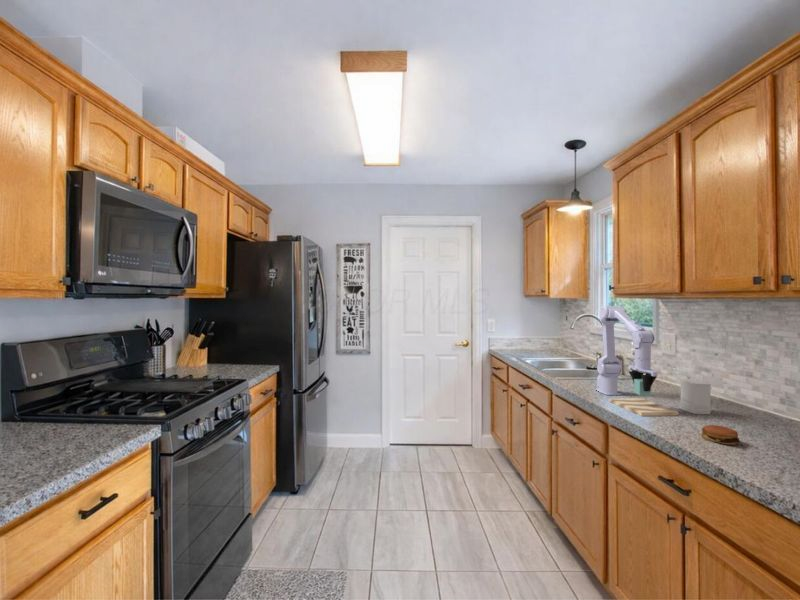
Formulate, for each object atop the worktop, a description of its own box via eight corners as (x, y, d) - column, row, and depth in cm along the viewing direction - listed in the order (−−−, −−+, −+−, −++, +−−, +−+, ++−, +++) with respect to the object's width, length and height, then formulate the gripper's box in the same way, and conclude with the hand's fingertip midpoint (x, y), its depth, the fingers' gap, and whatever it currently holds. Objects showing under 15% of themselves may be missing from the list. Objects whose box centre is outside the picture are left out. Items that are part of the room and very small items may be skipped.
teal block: (633, 392, 161) (634, 378, 161) (644, 392, 160) (644, 379, 160) (639, 395, 156) (639, 381, 156) (650, 395, 156) (650, 381, 156)
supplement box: (711, 414, 151) (711, 384, 151) (692, 414, 151) (693, 383, 151) (696, 409, 159) (697, 380, 158) (679, 408, 159) (680, 379, 159)
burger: (695, 434, 128) (695, 421, 128) (724, 436, 127) (725, 423, 127) (714, 445, 119) (714, 431, 119) (747, 448, 117) (747, 433, 117)
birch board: (609, 401, 168) (609, 398, 168) (642, 401, 169) (642, 398, 169) (641, 416, 148) (641, 412, 148) (678, 415, 149) (678, 411, 149)
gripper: (622, 355, 165) (622, 385, 165) (646, 361, 151) (645, 393, 151) (637, 355, 166) (636, 385, 166) (662, 361, 151) (661, 393, 151)
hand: (642, 389), depth 158 cm, fingers closed on teal block, 5 cm apart
